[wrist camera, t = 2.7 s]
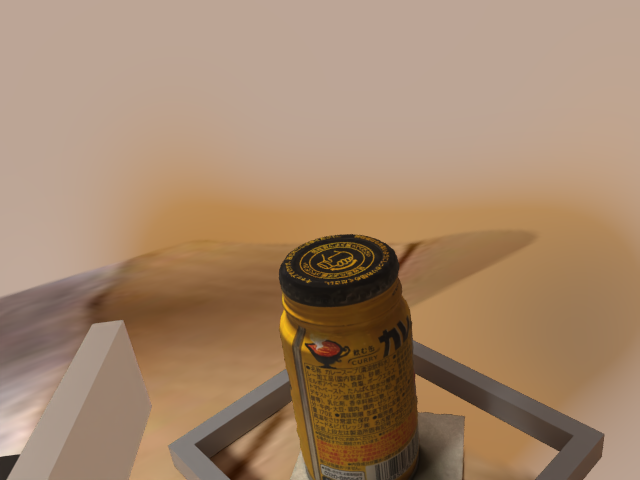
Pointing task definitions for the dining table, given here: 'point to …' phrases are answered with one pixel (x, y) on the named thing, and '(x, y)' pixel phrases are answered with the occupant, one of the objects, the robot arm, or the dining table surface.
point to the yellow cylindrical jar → (358, 368)
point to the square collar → (485, 393)
